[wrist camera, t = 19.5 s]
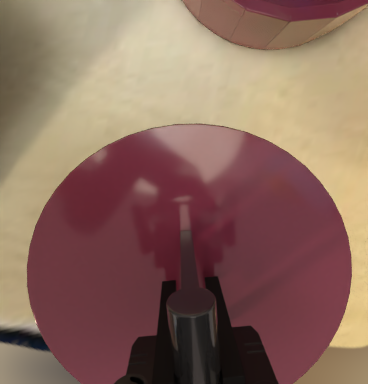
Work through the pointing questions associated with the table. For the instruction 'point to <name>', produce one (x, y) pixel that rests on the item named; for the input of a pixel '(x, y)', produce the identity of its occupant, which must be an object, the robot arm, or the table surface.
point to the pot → (273, 19)
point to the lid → (188, 254)
